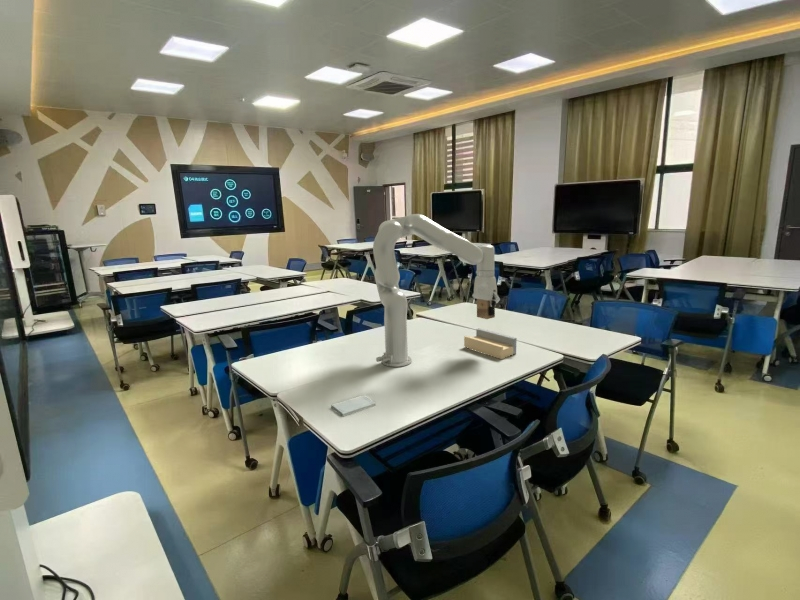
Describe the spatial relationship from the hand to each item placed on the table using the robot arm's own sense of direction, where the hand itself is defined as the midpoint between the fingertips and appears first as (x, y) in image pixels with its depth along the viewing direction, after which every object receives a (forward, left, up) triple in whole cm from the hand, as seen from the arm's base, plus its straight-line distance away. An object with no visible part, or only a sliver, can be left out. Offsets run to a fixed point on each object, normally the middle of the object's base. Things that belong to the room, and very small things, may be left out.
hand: (485, 313), depth 181 cm
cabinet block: (0, 0, -2) cm, 2 cm away
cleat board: (+3, +1, -18) cm, 18 cm away
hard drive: (-74, -8, -19) cm, 76 cm away
